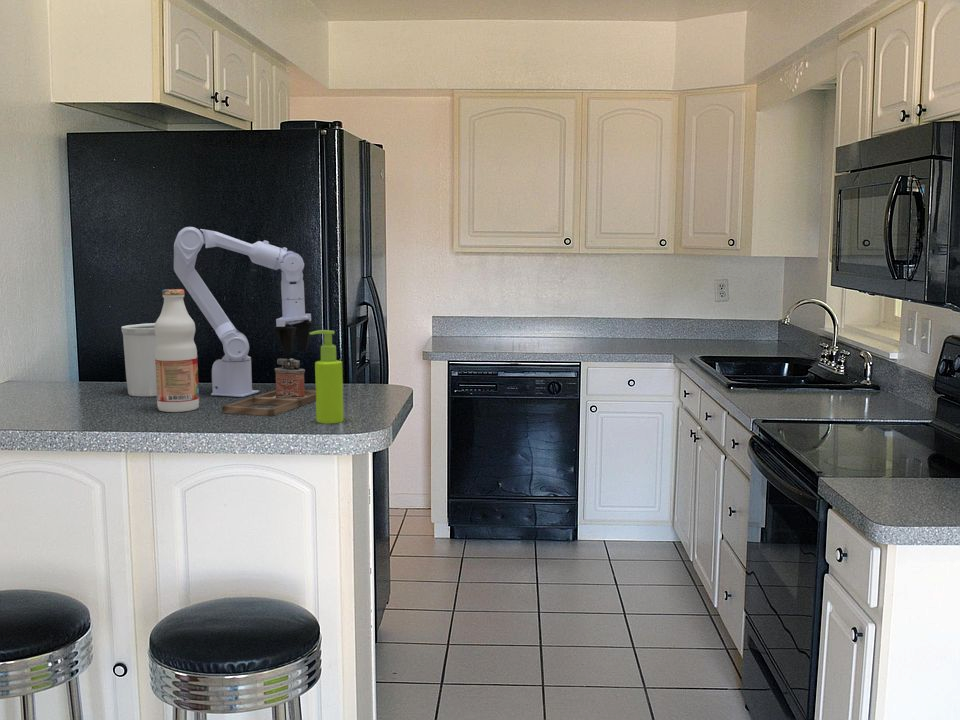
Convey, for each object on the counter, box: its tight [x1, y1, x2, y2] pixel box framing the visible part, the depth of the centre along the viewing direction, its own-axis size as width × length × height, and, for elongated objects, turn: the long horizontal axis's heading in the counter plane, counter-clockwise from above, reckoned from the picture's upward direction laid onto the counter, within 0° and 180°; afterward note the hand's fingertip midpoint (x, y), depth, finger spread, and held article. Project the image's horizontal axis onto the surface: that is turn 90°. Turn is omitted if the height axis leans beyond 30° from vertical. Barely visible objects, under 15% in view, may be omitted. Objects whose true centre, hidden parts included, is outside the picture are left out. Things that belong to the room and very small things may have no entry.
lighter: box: [274, 358, 306, 399], centre depth 242 cm, size 8×3×10 cm, turn 68°
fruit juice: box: [154, 288, 200, 413], centre depth 229 cm, size 9×9×28 cm
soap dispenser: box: [309, 329, 344, 424], centre depth 215 cm, size 6×7×20 cm
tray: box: [221, 389, 316, 417], centre depth 236 cm, size 13×26×2 cm, turn 161°
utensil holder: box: [120, 322, 157, 398], centre depth 253 cm, size 15×15×18 cm
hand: (295, 351), depth 254 cm, fingers open, 7 cm apart
